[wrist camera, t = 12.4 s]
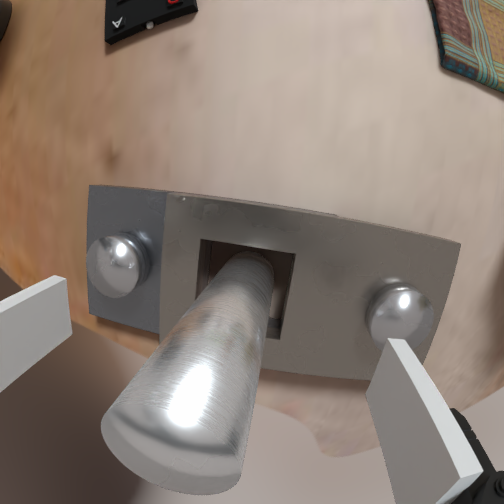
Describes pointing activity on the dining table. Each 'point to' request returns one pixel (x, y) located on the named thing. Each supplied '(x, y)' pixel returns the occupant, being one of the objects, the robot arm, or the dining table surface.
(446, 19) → the dish towel
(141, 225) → the lower chain end
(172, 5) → the remote control
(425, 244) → the grey block with knob
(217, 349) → the steel pin
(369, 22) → the dining table surface
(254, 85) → the dining table surface
